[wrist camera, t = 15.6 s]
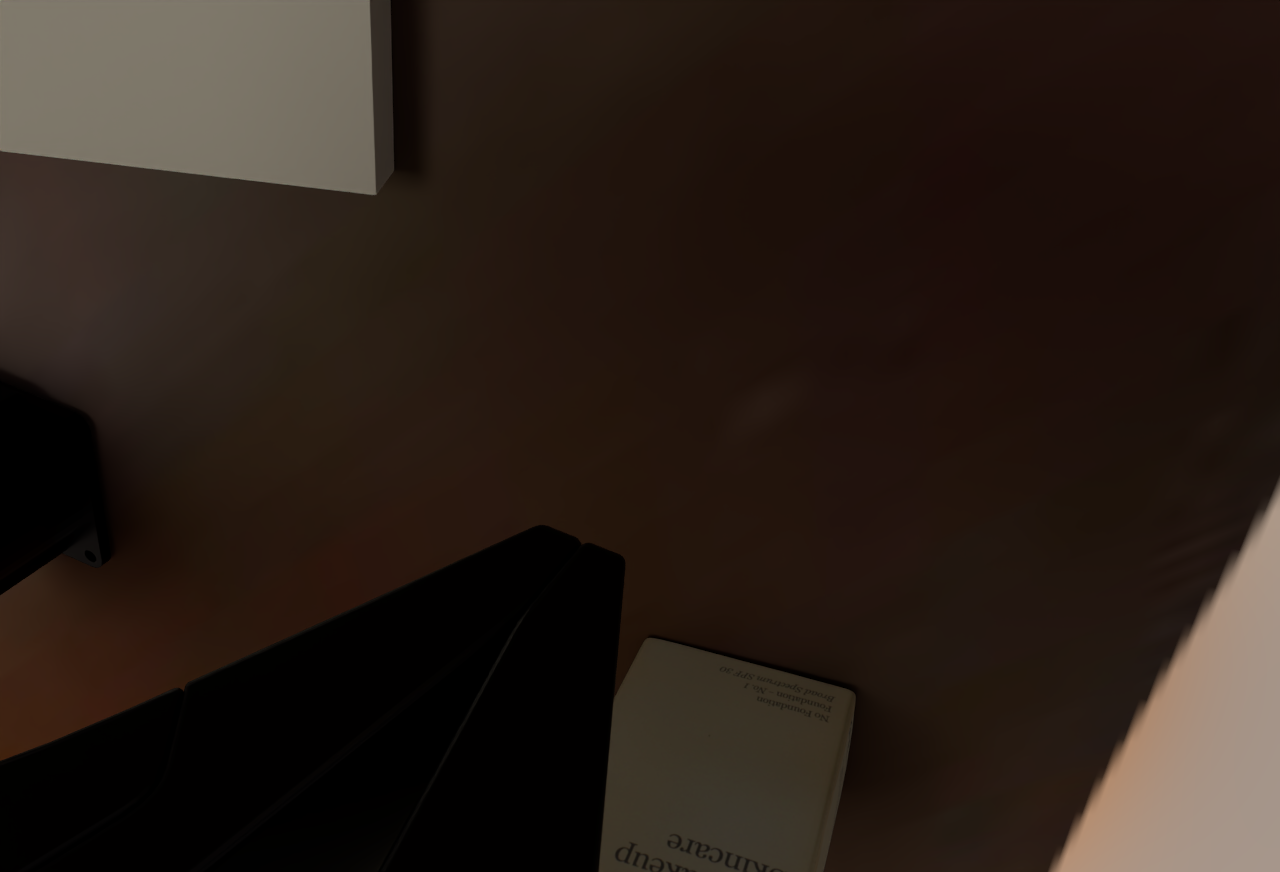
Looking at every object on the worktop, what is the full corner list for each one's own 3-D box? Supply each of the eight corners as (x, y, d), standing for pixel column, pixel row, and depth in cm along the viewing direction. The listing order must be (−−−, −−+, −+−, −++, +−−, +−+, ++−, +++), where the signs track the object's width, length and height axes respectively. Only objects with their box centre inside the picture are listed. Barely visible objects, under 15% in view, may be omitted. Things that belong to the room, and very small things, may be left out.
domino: (367, -57, 18) (-173, -129, 18) (375, 195, 21) (-93, 140, 20) (389, -65, 20) (-108, -132, 19) (394, 170, 22) (-42, 118, 22)
